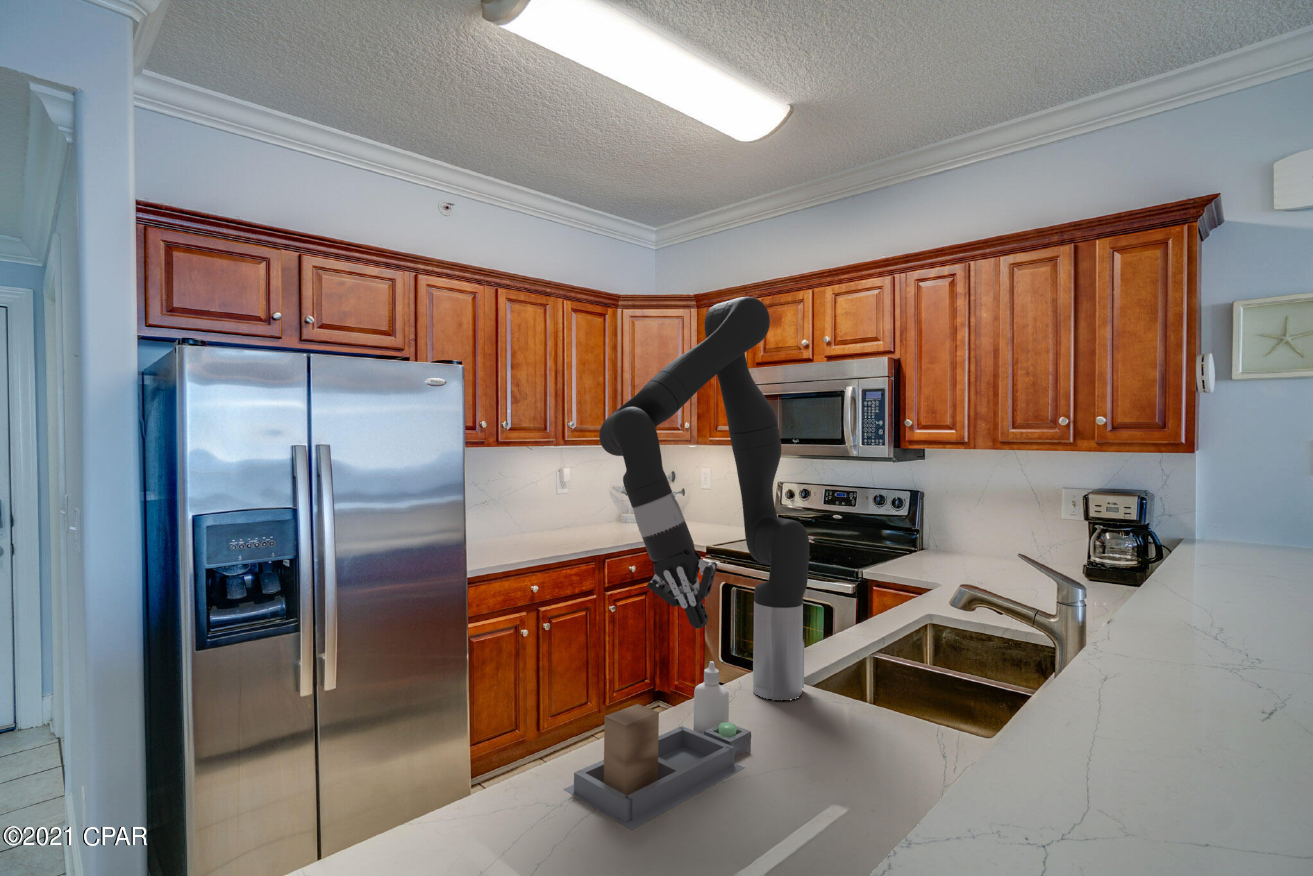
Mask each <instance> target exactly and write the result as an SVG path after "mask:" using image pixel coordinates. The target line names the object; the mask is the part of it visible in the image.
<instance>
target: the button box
mask: <svg viewBox="0 0 1313 876" xmlns="http://www.w3.org/2000/svg"><path fill="white" fill-rule="evenodd" d="M723 723H724V722H723ZM704 735H706V736H708V737H711V738H713V739H715V740H718V741H720V742H723V743H725V744H728V745H730V746H733V747H734V758H736V757H737V756H740V755H741V754H743V753H747V754H748V755H751V753H752V748H751V747H752V744H751V743H752V731H750V730H748V729H745V728H743V727H740V726H737V725H736V735H734V736H732V737H730V738H728V737H726V736H723V735H721V734H719V724H718V725H716V726H714V727H712V728H710V729H707V730H705V731H704Z"/></svg>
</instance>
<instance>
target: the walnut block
mask: <svg viewBox="0 0 1313 876" xmlns="http://www.w3.org/2000/svg"><path fill="white" fill-rule="evenodd" d="M659 715H660V712H659V711H657V710H654V709H651V708H649V707H647V706H644V705H641V704H639V703H636V704H634V705H632V706H631V705H630V706H628V707H625V708H623V709H620V710H618V711H614V712H612V713H609V714H607V715H605V716H604V723H603V724H604V725H603V726H604V727H603V728H604V730H603V731H604V732H603V734H604V735H603V736H604V738H603V739H604V740H603V743H604V745H603V760H604V783H605V784H606V785H608V786H610V787H612V788H614V789H615V790H617V791H619V792H621V793H623V794H624V795H626V796H628V795H630V794H632V793H634V792H636V791H638V790H640V789H642V788H644V787H646V786H648V785H650V784H652V783H654V782H656V781H658V736H660V735H659V728H660V727H659V726H660V725H659V723H660V719H659V717H660V716H659Z"/></svg>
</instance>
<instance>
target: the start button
mask: <svg viewBox="0 0 1313 876" xmlns="http://www.w3.org/2000/svg"><path fill="white" fill-rule="evenodd" d="M736 726H737V725H736V724H735V723H733V722H724V723H720V724H719V734H721V735H723V736H726V737H728V738H730V737H732V736H734V735H736Z"/></svg>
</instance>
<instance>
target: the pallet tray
mask: <svg viewBox="0 0 1313 876" xmlns="http://www.w3.org/2000/svg"><path fill="white" fill-rule="evenodd" d="M743 769H745V767H744V766H743V765H740V764H738V763H736V762H735V757H734V747H733V746H730V745H728V744H725V743H723V742H720V741H718V740H715V739H713V738H711V737H708V736H706V735H703V734H701V733H698V732H696V731H694V729H691V728H689V727H686V726H683V725H681V726H679V727H676V728H675V729H672V730H669V731H668V732H665V733H662V734H661V735H659V736H658V781H656V782H654V783H652V784H650V785H648V786H646V787H644V788H642V789H640V790H638V791H636V792H634V793H632V794H630V795H628V796H626V795H624V794H623V793H621V792H619V791H617V790H615V789H614V788H612V787H610V786H608V785H606V784H605V783H604V759H603V760H599V761H598V762H596V763H593V764H591V765H589V766H586V767H584V768H582V769H579V770H577V771H574V772H573V784H572V785H569V786H568V787H565V788H563V790H564V791H565V792H567V793H569V794H570V795H572V796H573V797H576V798H577V799H578V800H581V801H582V802H584V803H585V804H587V805H588V806H591V807H592V808H594V809H596V810H597V811H599V812H601V813H602V814H604V815H606V816H607V817H609V818H610V819H612V820H614V821H616V822H617V823H619V824H621V825H622V826H624V827H625V828H627V829H629V830H631V831H633V830H635V829H637V828H638V827H640V826H642V825H644V824H646V823H647V822H650V821H651V820H653V819H655V818H657V817H658V816H660V815H662V814H664V813H666V812H667V811H670V810H671V809H673V808H675V807H677V806H679V805H680V804H682V803H684V802H685V801H687V800H689V799H691V798H693V797H694V796H697V795H699V794H700V793H702V792H703V791H704V792H705V791H706V790H707V789H709V788H711V787H712V786H715V785H716V784H718V783H720V782H722V781H724V780H725V779H727V778H730V777H731V776H733V775H734V774H736V773H739V772H740V771H742V770H743Z"/></svg>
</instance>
